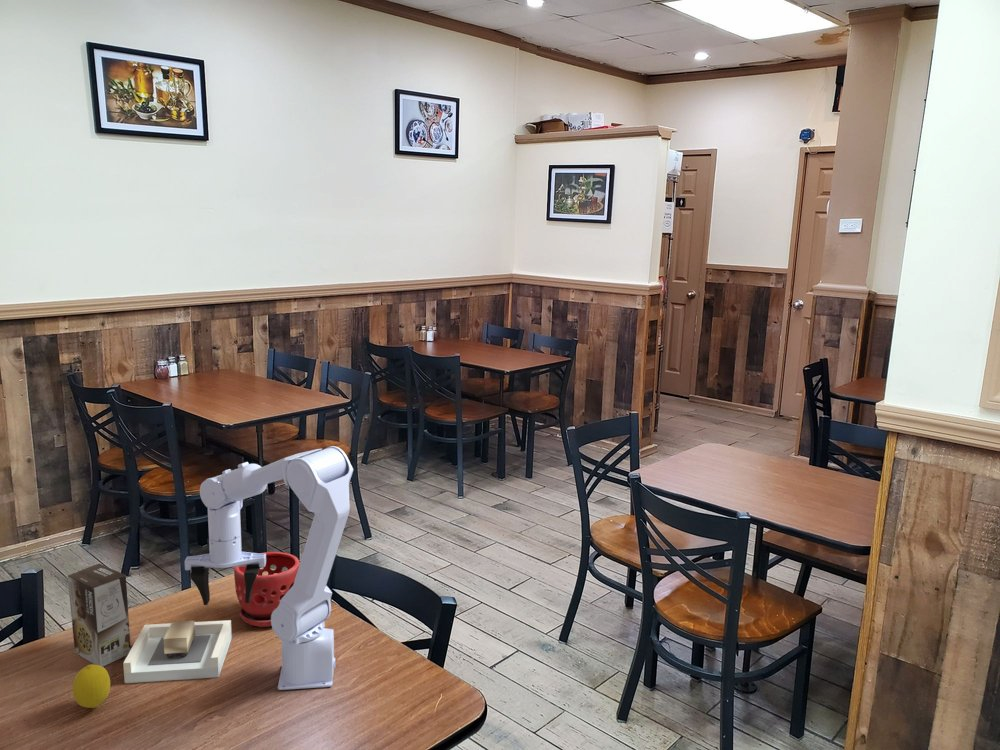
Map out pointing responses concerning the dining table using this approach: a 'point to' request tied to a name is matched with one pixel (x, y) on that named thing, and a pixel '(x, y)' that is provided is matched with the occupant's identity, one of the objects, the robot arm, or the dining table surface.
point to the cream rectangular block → (179, 638)
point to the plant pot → (266, 588)
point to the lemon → (91, 686)
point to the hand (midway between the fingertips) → (227, 601)
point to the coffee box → (99, 614)
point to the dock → (178, 654)
